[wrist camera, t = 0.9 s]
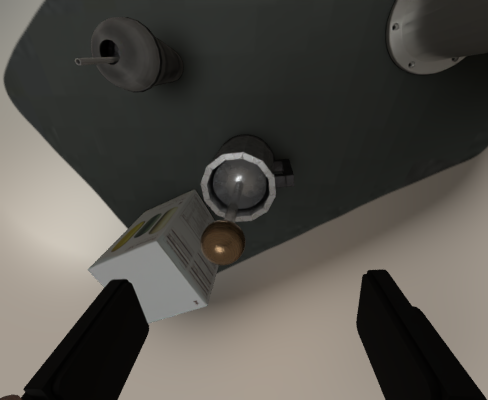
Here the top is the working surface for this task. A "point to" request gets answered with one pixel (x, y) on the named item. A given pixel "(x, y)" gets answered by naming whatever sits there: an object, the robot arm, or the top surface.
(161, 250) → the supplement box
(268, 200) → the carafe
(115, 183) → the top surface
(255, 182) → the plunger
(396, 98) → the top surface
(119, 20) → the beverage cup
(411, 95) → the top surface
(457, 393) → the robot arm
